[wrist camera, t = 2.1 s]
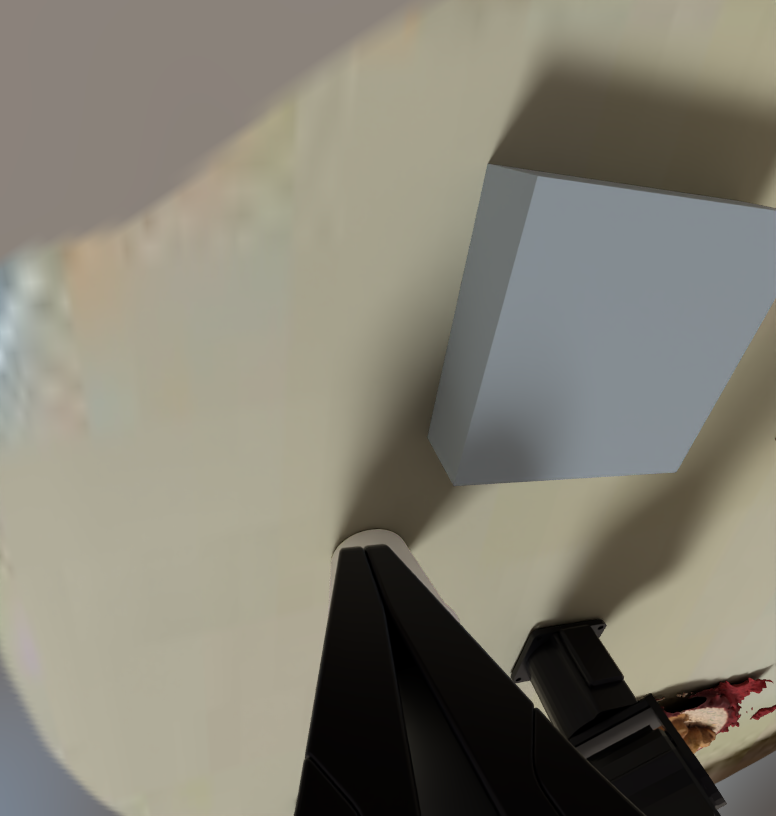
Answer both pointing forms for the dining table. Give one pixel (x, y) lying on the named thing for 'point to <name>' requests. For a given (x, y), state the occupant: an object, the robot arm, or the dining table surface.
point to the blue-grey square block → (595, 326)
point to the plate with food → (715, 712)
